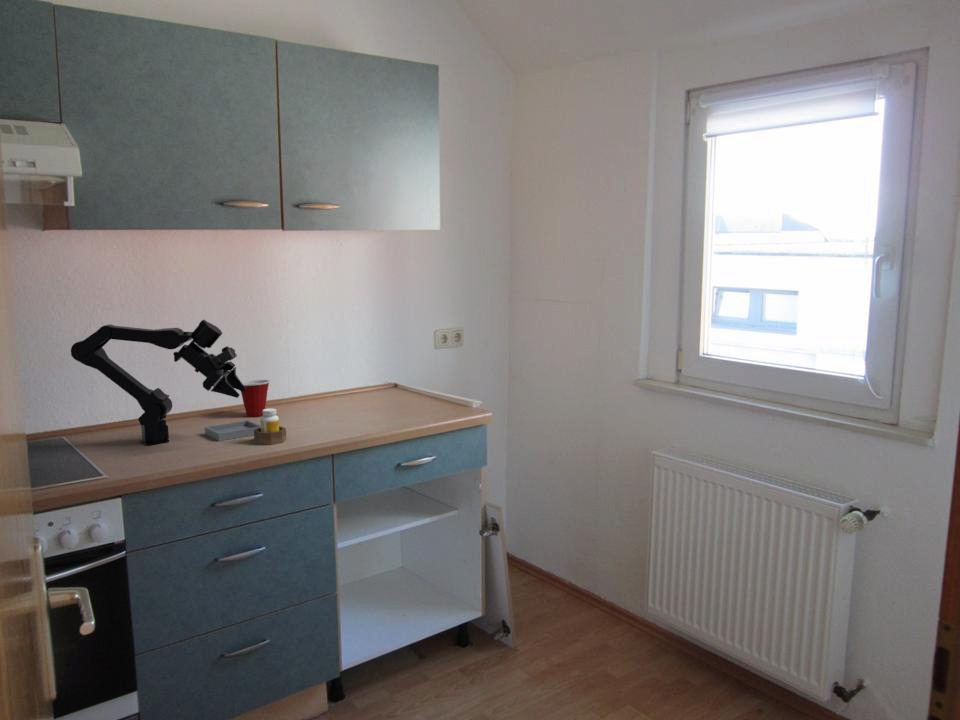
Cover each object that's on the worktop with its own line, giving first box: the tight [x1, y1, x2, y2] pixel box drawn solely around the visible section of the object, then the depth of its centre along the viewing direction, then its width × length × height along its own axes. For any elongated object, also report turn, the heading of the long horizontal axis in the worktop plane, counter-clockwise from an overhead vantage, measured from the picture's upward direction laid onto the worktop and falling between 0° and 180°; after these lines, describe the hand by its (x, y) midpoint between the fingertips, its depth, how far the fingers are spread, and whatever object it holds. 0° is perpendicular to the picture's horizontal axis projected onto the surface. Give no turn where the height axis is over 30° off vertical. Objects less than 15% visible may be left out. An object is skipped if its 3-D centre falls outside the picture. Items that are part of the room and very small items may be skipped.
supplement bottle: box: [259, 408, 280, 432], centre depth 229 cm, size 5×5×10 cm
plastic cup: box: [240, 379, 271, 418], centre depth 262 cm, size 11×11×12 cm
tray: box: [204, 419, 261, 442], centre depth 238 cm, size 14×11×2 cm
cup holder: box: [253, 425, 287, 446], centre depth 230 cm, size 9×9×4 cm
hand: (242, 393), depth 229 cm, fingers open, 9 cm apart
